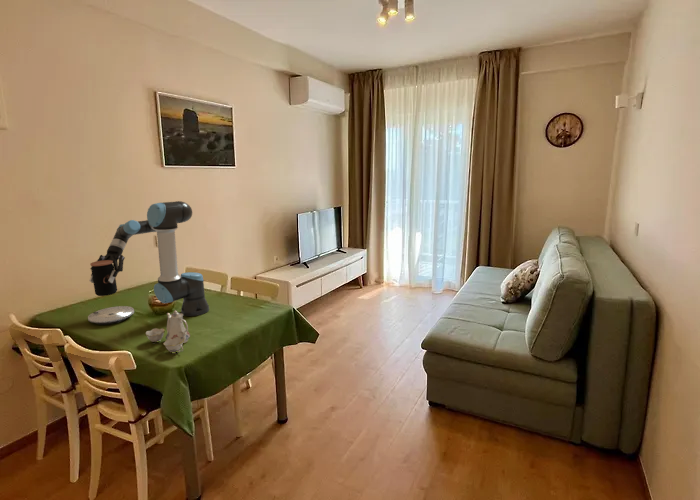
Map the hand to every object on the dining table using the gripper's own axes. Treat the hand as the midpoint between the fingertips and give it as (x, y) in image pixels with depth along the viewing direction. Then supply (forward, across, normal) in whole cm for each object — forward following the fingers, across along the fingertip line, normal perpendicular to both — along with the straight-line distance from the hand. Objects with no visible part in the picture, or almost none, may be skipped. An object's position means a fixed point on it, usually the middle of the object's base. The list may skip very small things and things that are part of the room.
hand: (100, 281), depth 214 cm
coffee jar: (+3, 0, -8) cm, 8 cm away
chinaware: (+35, -55, +3) cm, 66 cm away
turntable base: (+16, -4, -14) cm, 22 cm away
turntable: (+14, -4, -13) cm, 20 cm away
